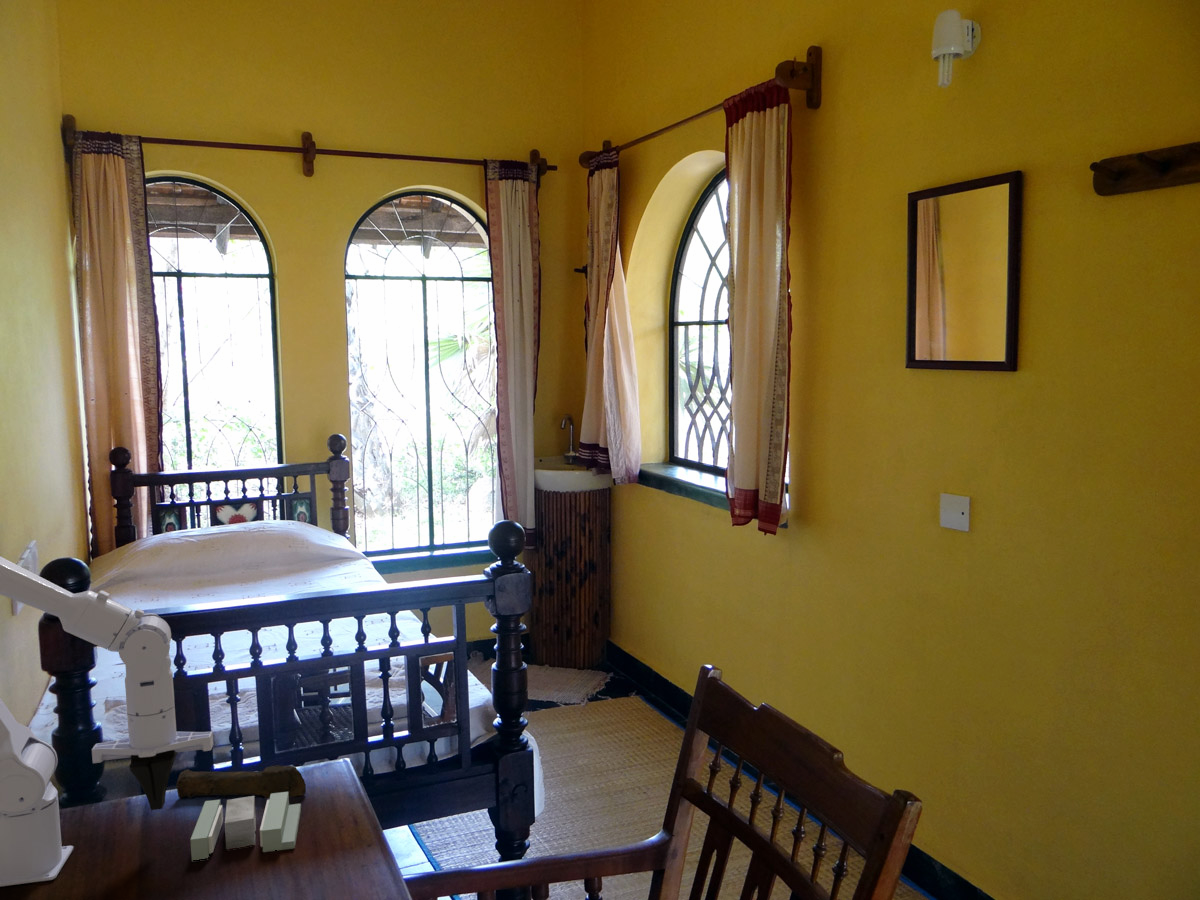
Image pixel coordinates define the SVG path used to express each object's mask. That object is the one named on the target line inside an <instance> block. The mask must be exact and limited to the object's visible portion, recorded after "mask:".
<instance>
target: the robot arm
mask: <svg viewBox="0 0 1200 900" xmlns="http://www.w3.org/2000/svg"><path fill="white" fill-rule="evenodd" d="M0 596H3V597H6V598H8V599H11V600H14V601H17V602H19V603H22V604H25V605H27V606H29V607H32V608H34V609H36V610H40V611H42V612H44V613H47V614H50V615H52V616H54V617H58V619H59V621H60V623H61V625H62V627H61V628H62V629H63V631H64V632H66V633H69V634H71V635H73V636H75V637H77V638H80V639H82V640H84V641H86V642H88V643H91V644H93V645H95V646H98V647H100V648H103V649H105V650H107V651H109V652H114V653H118V655H119V658H120V661H122V663H123V664H124V665H125V666H124V667H125V678H124V686H125V687H124V688H125V689H124V690H125V700H126V701H125V702H126V713H127V714H126V716H127V730H128V737H125V738H120V739H116V740H112V741H105V742H99V743H95V744H94V745H93V747H92V748H91V757H92V760H91V761H92V764H98V763H102V762H104V761H109V760H117V759H119V760H120V759H128V758H130V763H129V766H128V767H129V771H130V772H131V774H132V775H133V776H134V777H135V779H136V780H137V781H138V783H139V784H140V787H141V788H142V789H143V791H144V794H145V796H146V798H147V801H148V804H149V807H150V810H151V811H155V810H162V809H163V808H164V805H165V803H166V794H167V787H168V783H169V778H170V775H171V772H172V770H173V769H172V768H173V766H174V763H175V760H176V758H177V755H178V753H182V752H183V753H184V752H190V751H192V752H193V751H199V750H201V751H202V752H208V751H211V750H212V748H213V747H214V737H213V736H214V735H213V734H214V733H213V731H177V720H176V708H175V707H176V706H175V689H174V676H173V671H172V668H171V666H172V660H171V657H170V649H171V647H170V646H171V640H172V631H171V627H170V625H169V624H168V622H167V621H166V620H165V619H163V618H161V616H159V614H157V613H153V612H152V613H145V610H142V609H140V608H137V609H136V610H133V609H131V608H129V607H128V606H125V605H123V604H121V603H119V602H116V601H114V600H112V599H109V598H110V596H111V594H110V593H109V592H107V591H104V590H103V589H102V590H99V592H95V591H92V590H86V591H85V590H84V591H82V592H76V593H73V592H71V591H69V590H67V589H65V588H63V587H61V586H59V585H58V584H55V583H53V582H51V581H50V580H47V579H46V578H43V577H41V576H39V575H38V574H36V573H34V572H32V571H30V570H28V569H26V568H24V567H22V566H20V565H18V564H16V563H14V562H12V561H10V560H8V559H6V558H5V557H3V556H1V555H0ZM57 754H58V753H57V751H56V750H55V748H54V747H53V746H52V745H51V744H50V743H48V742H46V741H44V740H42V739H40V738H39V737H37V736H36V735H35V734H34V732H33V731H32V729H31V728H29V727H28V726H26V725H24V724H22V723H19V722H18V721H17V720H16V718H15V717H14V715H13V714H12V713H11V711H10V710H9V708H8V707H7V705H6V704H5V702H4V701H3V700H2V698H1V697H0V887H8V886H14V885H16V886H17V885H21V884H30V883H39V882H46V881H52V880H55V879H56V878H57V877H58V875H59V873H60V872H61V870H62V868H63V866H64V865H65V863H66V862H67V860H68V858H69V857H70V855H71V854H72V852H73V851H74V846H73V845H66V846H65V845H63V846H62V834H61V833H62V832H61V821H60V820H61V819H60V809H59V808H60V805H59V795H58V794H59V791H58V790H57V788H56V787H55V786H54V785H53V783H52V781H51V777H52V776H53V774H54V772H55V771H56V769H57V766H58V761H59V759H58V755H57Z"/></svg>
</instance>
